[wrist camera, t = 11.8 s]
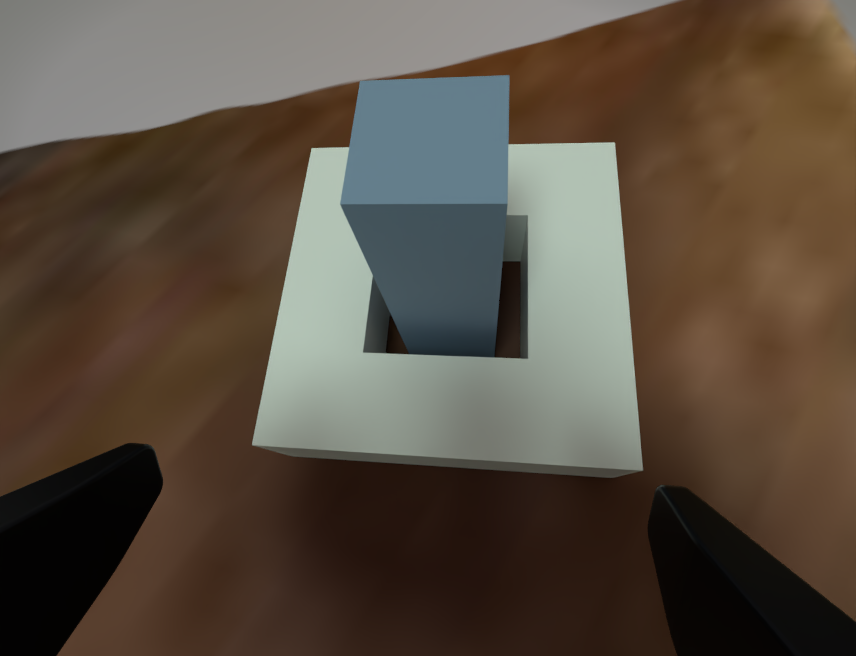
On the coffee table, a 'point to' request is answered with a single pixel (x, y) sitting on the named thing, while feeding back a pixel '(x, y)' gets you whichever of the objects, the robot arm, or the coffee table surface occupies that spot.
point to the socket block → (458, 375)
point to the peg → (433, 205)
